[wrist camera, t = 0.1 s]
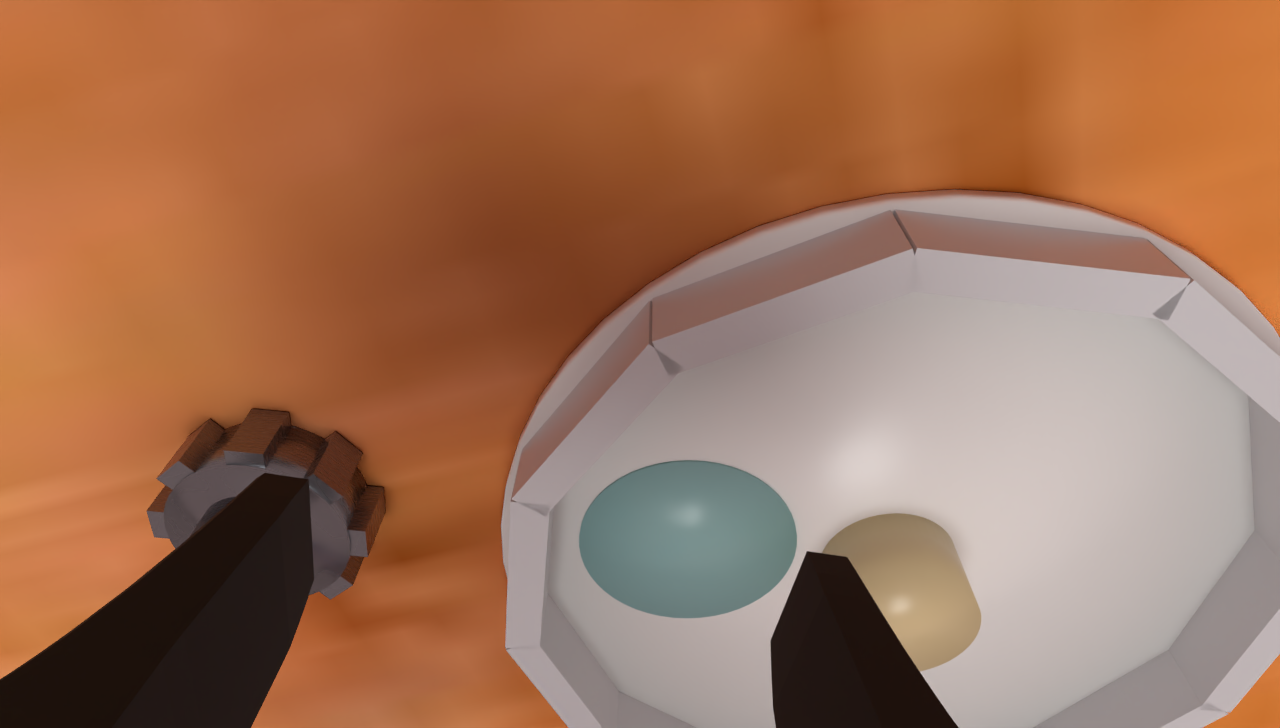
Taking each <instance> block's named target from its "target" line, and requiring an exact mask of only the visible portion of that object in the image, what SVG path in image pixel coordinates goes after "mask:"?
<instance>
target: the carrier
mask: <svg viewBox="0 0 1280 728" xmlns="http://www.w3.org/2000/svg"><path fill="white" fill-rule="evenodd" d="M501 533H502V549H503V563H504V567H505V571H506V575H507V579H508V586H507V614H506V643H505V648H506V650H507V652H508V653H509V654H510V655H511V657H512V658H513V659H514V660H515V662H516V663H517V664H518V665H519V667H520V668H521V669H522V670H523V672H524V673H525V674H526V675H527V677H528V678H529V679H530V680H531V682H532V683H533V684H534V685H535V687H536V688H537V689H538V690H539V692H540V693H541V694H542V695H543V696H544V698H545V699H546V700H547V701H548V703H549V704H550V705H551V706H552V708H553V709H554V710H555V711H556V713H557V714H558V715H559V716H560V718H561V719H562V720H563V721H564V723H565V724H566V725H567V726H568V728H776V725H775V718H774V711H773V697H772V677H771V643H770V640H771V638H772V636H773V633H774V631H775V628H776V626H777V623H778V621H779V618H780V616H781V613H782V611H783V609H784V606H785V604H786V601H787V599H788V596H789V594H790V591H791V589H792V587H793V584H794V582H795V579H796V577H797V574H798V572H799V569H800V567H801V564H802V562H803V560H804V557H805V555H806V552H807V551H810V552H817V553H824V554H831V555H838V556H845V557H848V559H849V560H850V562H851V563H852V565H853V567H854V568H855V570H856V571H857V573H858V575H859V576H860V578H861V579H862V581H863V583H864V584H865V586H866V588H867V589H868V591H869V593H870V594H871V596H872V597H873V599H874V601H875V602H876V604H877V606H878V607H879V609H880V610H881V612H882V614H883V615H884V617H885V618H886V620H887V622H888V623H889V625H890V626H891V628H892V630H893V631H894V633H895V634H896V636H897V638H898V639H899V641H900V642H901V644H902V645H903V647H904V649H905V650H906V652H907V653H908V655H909V656H910V658H911V659H912V661H913V662H914V664H915V665H916V667H917V668H918V670H919V671H920V673H921V674H922V676H923V677H924V679H925V680H926V682H927V683H928V685H929V686H930V688H931V689H932V691H933V692H934V694H935V695H936V696H937V698H938V699H939V701H940V702H941V704H942V705H943V706H944V708H945V709H946V711H947V712H948V714H949V715H950V716H951V718H952V719H953V721H954V722H955V723H956V725H957V726H958V727H959V728H1202V727H1204V726H1206V725H1208V724H1210V723H1212V722H1214V721H1216V720H1218V719H1220V718H1222V717H1224V716H1225V715H1227V714H1228V713H1227V712H1231V711H1232V710H1233V709H1234V708H1235V706H1236V705H1237V704H1238V703H1239V702H1240V700H1241V699H1242V698H1243V697H1244V696H1245V694H1246V693H1247V692H1248V691H1249V690H1250V688H1251V687H1252V686H1253V685H1254V684H1255V683H1256V681H1257V680H1258V679H1259V678H1260V677H1261V675H1262V674H1263V673H1264V672H1265V671H1266V669H1267V668H1268V667H1269V666H1270V665H1271V663H1272V662H1273V661H1274V660H1275V659H1276V658H1277V656H1278V655H1279V654H1280V338H1279V336H1278V334H1277V332H1276V331H1275V329H1274V327H1273V326H1272V325H1271V324H1270V323H1269V322H1268V321H1267V319H1266V318H1265V317H1264V316H1263V315H1262V314H1261V313H1260V312H1259V311H1258V309H1257V308H1256V307H1255V306H1254V305H1253V304H1252V303H1251V302H1250V300H1249V299H1248V298H1247V297H1246V296H1245V295H1244V294H1243V293H1242V292H1241V291H1240V290H1239V289H1238V288H1237V287H1235V286H1234V285H1233V284H1232V283H1231V282H1229V281H1228V280H1227V279H1226V278H1224V277H1223V276H1222V275H1220V274H1219V273H1218V272H1216V271H1215V270H1214V269H1212V268H1211V267H1210V266H1209V265H1207V264H1206V263H1205V262H1203V261H1202V260H1201V259H1199V258H1198V257H1197V256H1195V255H1194V254H1193V253H1191V252H1190V251H1189V250H1187V249H1186V248H1184V247H1182V246H1180V245H1178V244H1177V243H1175V242H1173V241H1171V240H1169V239H1167V238H1165V237H1163V236H1161V235H1159V234H1157V233H1155V232H1153V231H1151V230H1150V229H1148V228H1146V227H1144V226H1142V225H1140V224H1138V223H1136V222H1133V221H1130V220H1127V219H1124V218H1121V217H1118V216H1115V215H1112V214H1109V213H1106V212H1103V211H1100V210H1097V209H1094V208H1091V207H1088V206H1085V205H1082V204H1077V203H1072V202H1067V201H1061V200H1056V199H1050V198H1045V197H1039V196H1034V195H1029V194H1023V193H1016V192H996V191H977V190H958V189H950V190H936V191H922V192H908V193H893V194H884V195H879V196H873V197H868V198H863V199H858V200H852V201H847V202H842V203H837V204H832V205H826V206H821V207H818V208H814V209H811V210H808V211H805V212H802V213H799V214H796V215H792V216H789V217H786V218H783V219H780V220H777V221H773V222H770V223H767V224H764V225H761V226H758V227H755V228H753V229H751V230H749V231H746V232H744V233H742V234H740V235H738V236H735V237H733V238H731V239H729V240H726V241H724V242H722V243H720V244H718V245H715V246H713V247H711V248H709V249H707V250H704V251H702V252H700V253H698V254H697V255H695V256H693V257H692V258H690V259H688V260H687V261H685V262H683V263H682V264H680V265H678V266H677V267H675V268H673V269H672V270H670V271H668V272H667V273H665V274H663V275H662V276H660V277H659V278H657V279H655V280H654V281H652V282H650V283H649V284H647V285H646V286H645V287H643V288H642V289H641V290H640V291H638V292H637V293H636V294H635V295H633V296H632V297H631V298H630V299H628V300H627V301H626V302H625V303H623V304H622V305H621V306H620V307H618V308H617V309H616V310H615V311H613V312H612V313H611V314H610V315H608V316H607V317H606V318H605V319H603V320H602V322H601V323H600V324H599V325H598V326H597V327H596V328H595V329H594V330H593V331H592V332H591V333H590V334H589V335H588V336H587V337H586V338H585V339H584V340H583V341H582V342H581V343H580V345H579V346H578V347H577V348H576V349H575V350H574V351H573V352H572V353H571V354H570V355H569V356H568V357H567V359H566V360H565V361H564V363H563V364H562V366H561V367H560V368H559V370H558V371H557V373H556V374H555V376H554V377H553V378H552V380H551V381H550V383H549V384H548V385H547V387H546V388H545V390H544V391H543V392H542V394H541V395H540V397H539V399H538V401H537V403H536V405H535V407H534V409H533V411H532V413H531V415H530V417H529V419H528V421H527V423H526V425H525V427H524V429H523V431H522V433H521V435H520V439H519V442H518V445H517V448H516V452H515V455H514V458H513V462H512V465H511V468H510V471H509V475H508V479H507V484H506V488H505V497H504V505H503V514H502V522H501Z"/></svg>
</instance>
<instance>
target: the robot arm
mask: <svg viewBox="0 0 1280 728" xmlns="http://www.w3.org/2000/svg"><path fill="white" fill-rule="evenodd" d="M313 581H314V565H313V547H312V529H311V510H310V492H309V479H304V478H297V477H290V476H283V475H276V474H269V473H264V474H262V475H261V476H259V477H257V478H256V479H255V480H254V481H253V482H252V483H251V484H249V485H248V486H247V487H246V488H245V489H244V490H243V491H242V492H240V493H239V494H238V495H237V496H236V497H235V498H234V499H233V500H231V501H230V502H229V503H228V504H227V505H226V506H225V507H224V508H223V509H221V510H220V511H219V512H218V513H217V514H216V515H215V516H213V517H212V518H211V519H210V520H209V521H208V522H207V523H205V524H204V525H203V526H202V527H201V528H200V529H198V530H197V531H196V532H195V533H194V534H193V535H192V536H190V537H189V538H188V539H187V540H186V541H185V542H183V543H182V544H181V545H180V546H179V547H177V548H176V549H175V550H174V551H173V552H171V553H170V554H169V555H168V556H166V557H165V558H164V559H163V560H162V561H160V562H159V563H158V564H157V565H156V566H154V567H153V568H152V569H151V570H149V571H148V572H147V573H146V574H145V575H143V576H142V577H141V578H140V579H139V580H137V581H136V582H135V583H133V584H132V585H131V586H130V587H128V588H127V589H126V590H125V591H123V592H122V593H121V594H119V595H118V596H117V597H115V598H114V599H113V600H111V601H110V602H109V603H107V604H106V605H105V606H103V607H102V608H101V609H99V610H98V611H97V612H95V613H94V614H93V615H91V616H90V617H89V618H87V619H86V620H85V621H84V622H82V623H81V624H80V625H78V626H77V627H76V628H74V629H73V630H72V631H70V632H69V633H67V634H66V635H65V636H63V637H62V638H60V639H59V640H58V641H56V642H55V643H53V644H52V645H51V646H49V647H48V648H46V649H45V650H43V651H42V652H41V653H39V654H38V655H36V656H35V657H33V658H32V659H30V660H29V661H27V662H26V663H24V664H23V665H22V666H20V667H18V668H17V669H15V670H14V671H12V672H11V673H9V674H8V675H6V676H5V677H3V678H2V679H0V728H251V726H252V724H253V722H254V720H255V718H256V716H257V714H258V712H259V710H260V708H261V706H262V704H263V702H264V700H265V698H266V696H267V694H268V692H269V690H270V688H271V686H272V683H273V681H274V679H275V677H276V675H277V673H278V671H279V669H280V667H281V665H282V663H283V661H284V659H285V657H286V655H287V653H288V650H289V648H290V646H291V643H292V641H293V638H294V635H295V633H296V630H297V627H298V624H299V622H300V619H301V616H302V613H303V610H304V607H305V605H306V602H307V599H308V596H309V593H310V590H311V587H312V584H313ZM770 643H771V677H772V697H773V711H774V718H775V725H776V728H959V727H958V726H957V725H956V723H955V722H954V721H953V719H952V718H951V716H950V715H949V714H948V712H947V711H946V709H945V708H944V706H943V705H942V704H941V702H940V701H939V699H938V698H937V696H936V695H935V694H934V692H933V691H932V689H931V688H930V686H929V685H928V683H927V682H926V680H925V679H924V677H923V676H922V674H921V673H920V671H919V670H918V668H917V667H916V665H915V664H914V662H913V661H912V659H911V658H910V656H909V655H908V653H907V652H906V650H905V649H904V647H903V645H902V644H901V642H900V641H899V639H898V638H897V636H896V634H895V633H894V631H893V630H892V628H891V626H890V625H889V623H888V622H887V620H886V618H885V617H884V615H883V614H882V612H881V610H880V609H879V607H878V606H877V604H876V602H875V601H874V599H873V597H872V596H871V594H870V593H869V591H868V589H867V588H866V586H865V584H864V583H863V581H862V579H861V578H860V576H859V575H858V573H857V571H856V570H855V568H854V567H853V565H852V563H851V562H850V560H849V559H848V557H845V556H838V555H831V554H824V553H817V552H810V551H807V552H806V555H805V557H804V560H803V562H802V564H801V567H800V569H799V572H798V574H797V577H796V579H795V582H794V584H793V587H792V589H791V591H790V594H789V596H788V599H787V601H786V604H785V606H784V609H783V611H782V613H781V616H780V618H779V621H778V623H777V626H776V628H775V631H774V633H773V636H772V638H771V640H770Z"/></svg>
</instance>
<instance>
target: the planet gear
mask: <svg viewBox="0 0 1280 728" xmlns="http://www.w3.org/2000/svg"><path fill="white" fill-rule="evenodd" d="M362 454H363V453H362V452H361V451H359V450H358V449H357V448H356V447H354V446H353V445H352V444H351V443H349V442H348V441H347V440H346V439H344V438H343V437H342V436H341V435H339V434H338V433H337V432H336V431H335V432H334V433H333V434H331V435H330V436H329V437H327V438H326V439H324V438H322V437H320V436H318V435H316V434H314V433H312V432H310V431H307V430H304V429H301V428H298V427H295V426H291V424H290V417H289V412H280V411H270V410H260V409H251V411H250V412H249V414H248V415H247V417H246V418H245V420H244V421H243V423H242V424H239V425H235V426H232V427H229V428H227V429H225V430H224V429H223V428H221V427H220V426H219V425H217V424H216V423H215V422H213V421H212V420H211V419H209V420H208V421H207V422H205V423H204V424H203V425H202V426H200V427H199V428H198V429H197V430H196V431H194V432H193V433H192V434H191V435H189V436H188V438H187V439H186V440H185V442H184V443H183V444H182V445H181V447H180V448H179V449H178V451H177V452H176V453H175V455H174V456H173V457H172V459H171V460H170V461H169V463H168V464H167V465H166V467H165V468H164V469H163V471H162V472H161V473H160V474H159V476H158V477H157V478H156V479H158V480H159V481H160V482H162V483H163V484H165V487H164V488H163V489H162V491H161V492H160V493H159V495H158V496H157V497H156V499H155V500H154V502H153V503H152V504H151V506H150V507H149V508H148V510H147V514H148V517H149V521H150V524H151V528H152V531H153V534H154V537H158V538H169V539H170V541H171V542H172V544H173V546H174V547H175V549H176V548H177V547H179V546H180V545H181V544H182V543H183V542H185V541H186V540H187V539H188V538H189V537H190V536H192V535H193V534H194V533H195V532H196V531H197V530H198V529H200V528H201V527H202V526H203V525H204V524H205V523H207V522H208V521H209V520H210V519H211V518H212V517H213V516H215V515H216V514H217V513H218V512H219V511H220V510H221V509H223V508H224V507H225V506H226V505H227V504H228V503H229V502H230V501H231V500H233V499H234V498H235V497H236V496H237V495H238V494H239V493H240V492H242V491H243V490H244V489H245V488H246V487H247V486H248V485H249V484H251V483H252V482H253V481H254V480H255V479H256V478H257V477H259V476H261V475H262V474H264V473H269V474H276V475H283V476H290V477H297V478H304V479H309V492H310V510H311V529H312V547H313V565H314V581H313V584H312V587H311V590H310V593H309V595H311V594H314V593H316V592H321V593H322V594H323V595H325V596H326V597H328V598H329V599H332V598H333V597H335V596H337V595H338V594H340V593H341V592H343V591H344V590H346V589H348V588H349V587H351V586H352V585H353V584H354V581H355V579H356V576H357V574H358V571H359V569H360V566H361V564H362V561H363V558H364V557H368V555H369V553H370V550H371V548H372V545H373V542H374V540H375V537H376V535H377V532H378V530H379V527H380V525H381V522H382V520H383V517H384V514H385V501H384V488H383V487H374V486H367V484H366V481H365V479H364V477H363V475H362V474H361V472H360V470H359V469H358V468H357V465H358V463H359V461H360V458H361V456H362Z"/></svg>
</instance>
